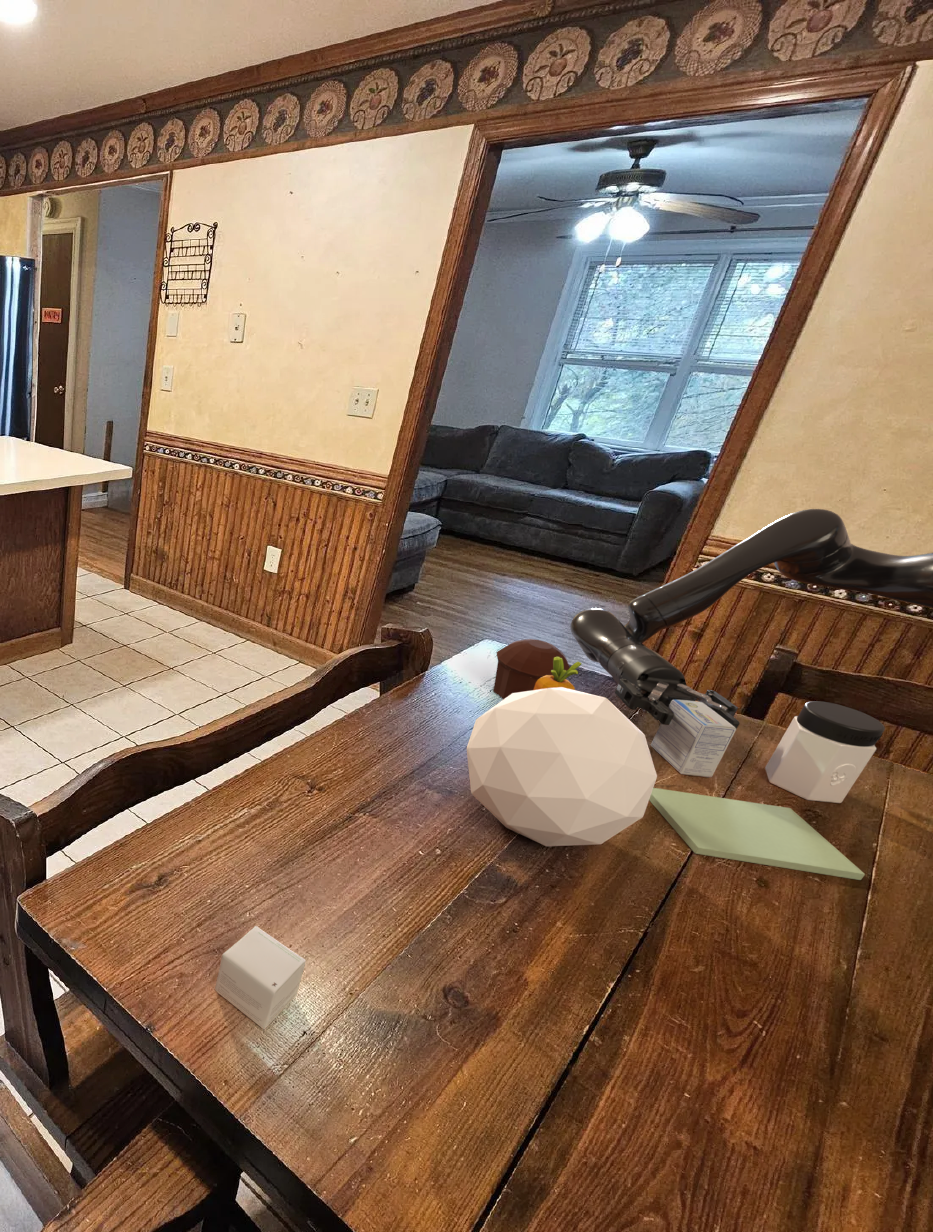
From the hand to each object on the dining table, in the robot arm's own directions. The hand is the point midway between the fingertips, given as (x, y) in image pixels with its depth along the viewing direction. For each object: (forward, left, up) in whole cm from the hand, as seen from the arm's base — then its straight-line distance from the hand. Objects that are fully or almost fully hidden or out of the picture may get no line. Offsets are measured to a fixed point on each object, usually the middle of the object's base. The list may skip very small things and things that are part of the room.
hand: (701, 723), depth 105 cm
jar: (-15, +2, -7) cm, 17 cm away
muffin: (+17, -16, -7) cm, 25 cm away
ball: (+29, +23, -7) cm, 37 cm away
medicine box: (0, 0, -7) cm, 7 cm away
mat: (+1, +17, -7) cm, 18 cm away
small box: (+65, +58, -7) cm, 87 cm away
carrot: (+21, +1, -7) cm, 22 cm away
